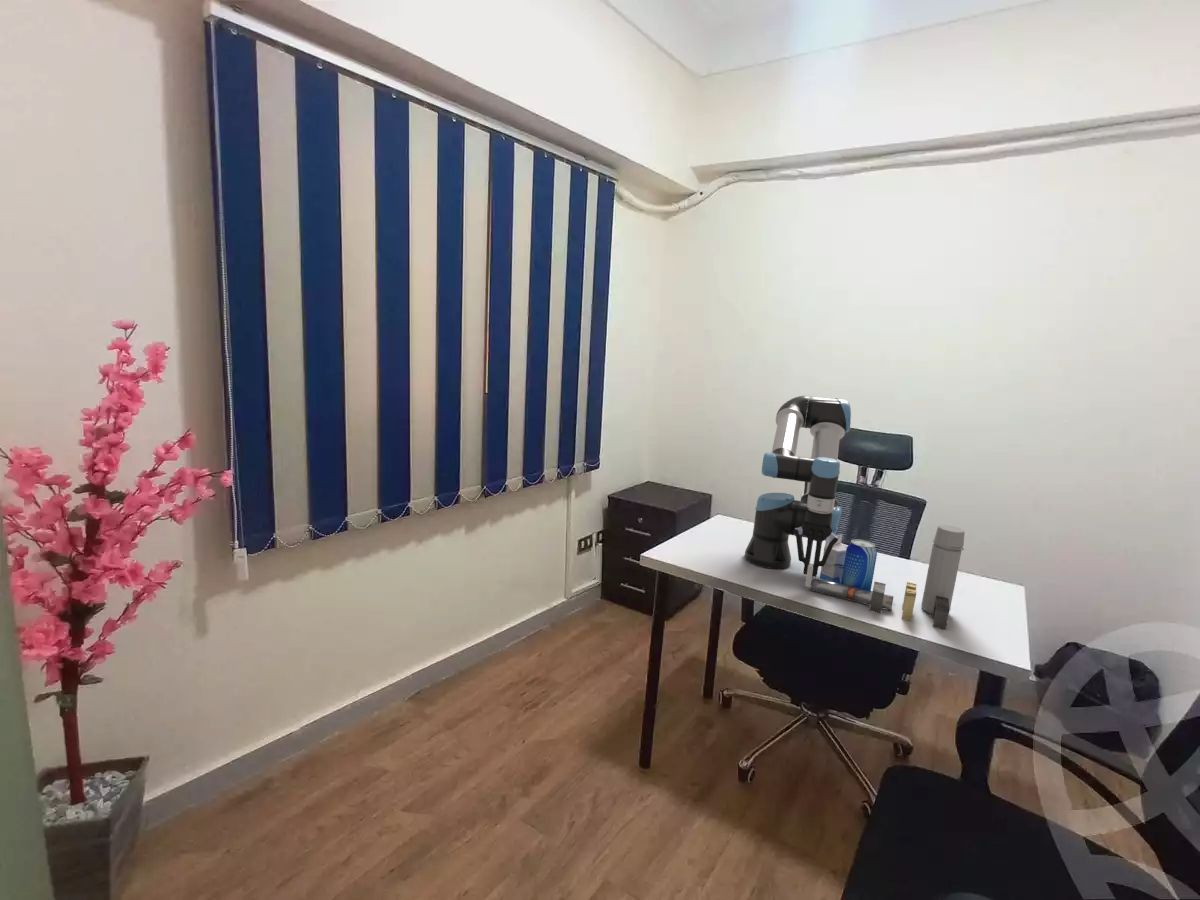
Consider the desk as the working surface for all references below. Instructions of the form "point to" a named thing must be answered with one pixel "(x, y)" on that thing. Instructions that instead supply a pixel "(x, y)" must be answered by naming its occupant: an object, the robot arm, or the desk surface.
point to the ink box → (834, 561)
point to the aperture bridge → (909, 601)
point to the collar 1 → (877, 597)
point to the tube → (848, 592)
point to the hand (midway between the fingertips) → (808, 585)
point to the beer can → (859, 564)
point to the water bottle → (943, 565)
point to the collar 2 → (940, 612)
